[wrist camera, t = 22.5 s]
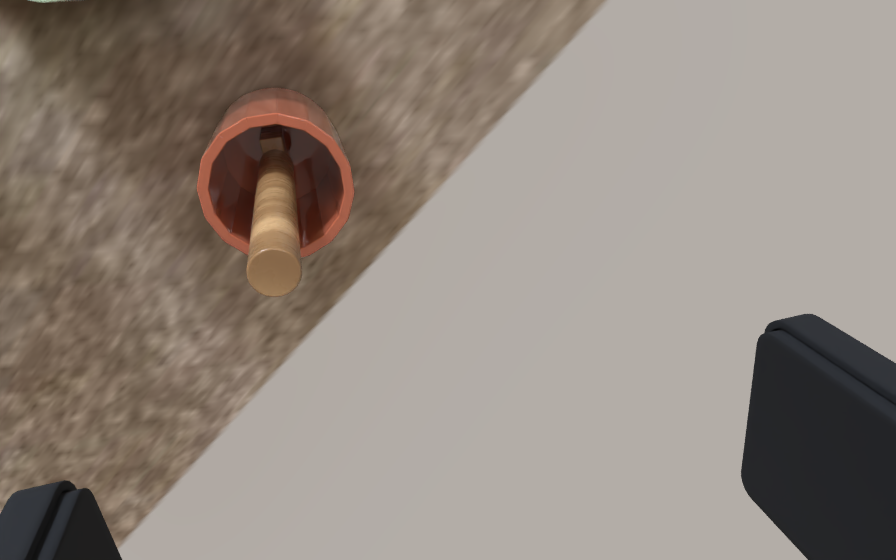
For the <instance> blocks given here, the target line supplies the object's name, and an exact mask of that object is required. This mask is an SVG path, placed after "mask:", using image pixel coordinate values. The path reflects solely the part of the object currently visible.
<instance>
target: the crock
mask: <svg viewBox="0 0 896 560" xmlns="http://www.w3.org/2000/svg"><path fill="white" fill-rule="evenodd" d="M279 126H281V127H282V130H283V135H284V140H285V144H286V149H287V154H288V155H289V156H290V157H291V159H292V161H293V165H294V178H295V190H296V203H297V215H298V228H299V240H300V253H301V257H306V256H309V255H310V254H312V253H314V252H315V251H317V250H319V249H320V248H322V247H324V246H325V245H327V244H329V243H330V242H331V241H333V239H334V238H335V237H336V235H337V234H338V232H339V231H340V230H341V228H342V227H343V226H344V224H345V223H346V222H347V220H348V218H349V214H350V210H351V206H352V202H353V198H354V194H355V193H354V192H355V190H354V184H353V178H352V173H351V167H350V163H349V161H348V158H347V156H346V153H345V151H344V148H343V146H342V143H341V141H340V139H339V136H338V134H337V131H336V129H335V127H334V126H333V124H332V123H331V121H330V119H329V117H328V116H327V114H326V113H325V111H324V110H323V109H322V108H321V107H320V106H319V105H318V104H316V103H315V102H314V101H313V100H311V99H310V98H308V97H307V96H305V95H303V94H301V93H299V92H296V91H293V90H289V89H284V88H263V89H258V90H255V91H252V92H249V93H247V94H245V95H244V96H242V97H240V98H239V99H238V100H236V101H235V102H234V103H232V104H231V105H230V106H229V108H228V109H227V111H226V112H225V113H224V115H223V117H222V118H221V120H220V121H219V123H218V124H217V126H216V129H215V131H214V133H213V135H212V137H211V139H210V142H209V144H208V146H207V148H206V150H205V152H204V154H203V157H202V159H201V163H200V170H199V176H198V182H197V192H198V195H199V199H200V203H201V206H202V210H203V213H204V216H205V218H206V220H207V221H208V222H209V224H210V225H211V226H212V227H213V229H214V230H215V231H216V232H217V234H218V235H219V236H220V237H221V239H222V240H223V241H224V242H226V243H228V244H229V245H231V246H233V247H234V248H236V249H238V250H240V251H241V252H243V253H245V254H246V255H248V253H249V245H250V236H251V228H252V219H253V211H254V202H255V194H256V186H257V177H258V169H259V161H260V158H261V157H262V151H261V146H260V142H259V140H260V132H261V129H265V128H272V127H279Z"/></svg>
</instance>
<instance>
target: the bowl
mask: <svg viewBox="0 0 896 560" xmlns="http://www.w3.org/2000/svg"><path fill="white" fill-rule="evenodd" d="M29 1H34V2H39V3H52V2H70V1H84V0H29Z"/></svg>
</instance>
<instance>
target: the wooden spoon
mask: <svg viewBox="0 0 896 560" xmlns="http://www.w3.org/2000/svg"><path fill="white" fill-rule="evenodd" d="M259 142H260V146H261V151H262V157H261V158H260V161H259V169H258V177H257V186H256V194H255V202H254V211H253V219H252V228H251V236H250V245H249V253H248V261H247V270H246V274H247V279H248V281H249V283H250V285H251V286H252V287H253V288H254V289H255V290H256V291H257V292H259V293H261V294H263V295H266V296H270V297H278V296H283V295H286V294H288V293H290V292H291V291H293V290H294V289H295V288H296V287H297V286H298V284H299V282H300V280H301V276H302V266H301V253H300V240H299V228H298V215H297V203H296V190H295V178H294V165H293V161H292V159H291V157H290V156H289V155H288V154H287V149H286V144H285V140H284V135H283V130H282V127H281V126H279V127H272V128H265V129H261V132H260V140H259Z"/></svg>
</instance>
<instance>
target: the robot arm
mask: <svg viewBox="0 0 896 560" xmlns="http://www.w3.org/2000/svg"><path fill="white" fill-rule="evenodd" d="M741 477H742V482H743V485H744V488H745V490H746V491H747V493H748V495H749V496H750V497H751V499H752V500H753V501H754V502H755V503H756V504H757V505H758V506H759V507H760V508H761V509H762V510H763V512H764V513H765V514H766V515H767V516H768V517H769V518H770V519H771V520H772V521H773V522H774V524H775V525H776V526H777V527H778V528H779V529H780V530H781V531H782V532H783V533H784V534H785V535H786V536H787V537H788V539H789V540H791V542H792V543H793V544H794V545H795V546H796V547H797V548H798V549H799V550H800V551H801V553H802V554H803V555H804V556H805V557H806V558H807V559H808V560H896V363H894V362H893V361H891V360H889V359H888V358H886V357H884V356H883V355H881V354H879V353H878V352H876V351H874V350H873V349H871V348H869V347H868V346H866V345H864V344H863V343H861V342H860V341H858V340H856V339H854V338H853V337H851V336H850V335H848V334H846V333H845V332H843V331H841V330H840V329H838V328H836V327H835V326H833V325H831V324H829V323H828V322H826V321H825V320H823V319H821V318H820V317H818V316H816V315H813V314H803V315H799V316H794V317H790V318H785V319H781V320H777V321H773V322H771V323H769V325H768V326H767V327H766V329H765V333H764V334H762V335H761V336H760V337H759V339H758V342H757V347H756V356H755V364H754V373H753V380H752V388H751V397H750V404H749V413H748V420H747V429H746V437H745V445H744V453H743V461H742V469H741ZM0 560H122V558H121V557H120V554H119V552H118V549H117V547H116V545H115V543H114V540H113V538H112V536H111V534H110V531H109V529H108V527H107V525H106V522H105V520H104V518H103V516H102V513H101V511H100V509H99V507H98V504H97V502H96V500H95V498H94V496H93V494H92V492H91V491H90V490H89V489H87V488H83V489H78V490H77V489H76V487H75V485H74V484H72V483H71V482H70V481H65V480H64V481H60V482H56V483H51V484H47V485H42V486H38V487H33V488H29V489H24V490H20V491H17V492H15V493H13V494H12V495H11V497H10V498H9V499H8V501H7V503H6V505H5V506H4V508H3V510H2V512H1V514H0Z"/></svg>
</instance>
